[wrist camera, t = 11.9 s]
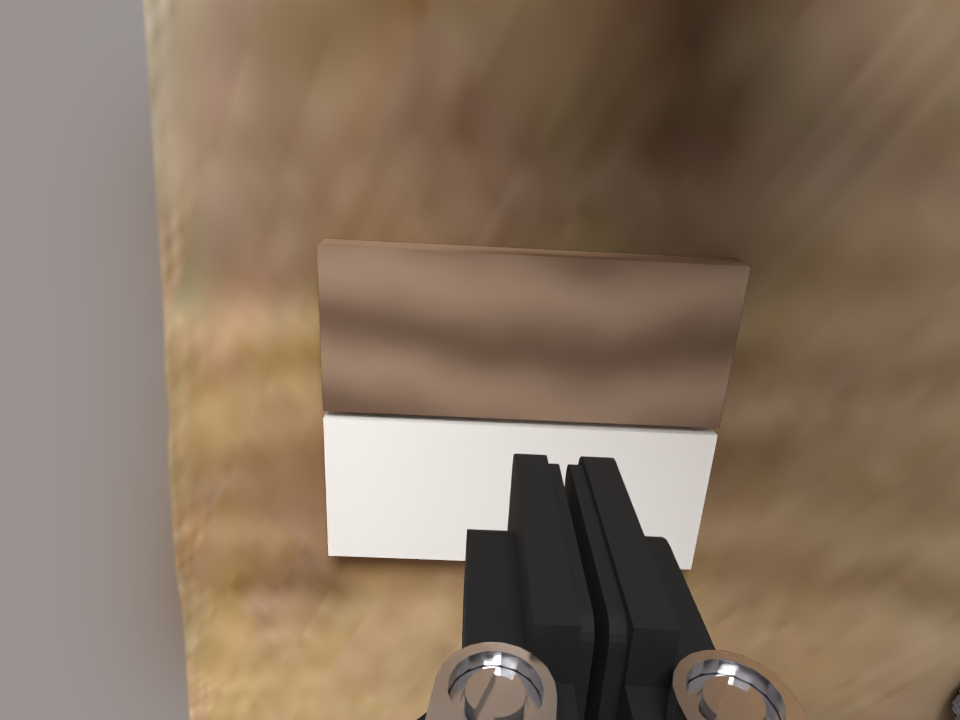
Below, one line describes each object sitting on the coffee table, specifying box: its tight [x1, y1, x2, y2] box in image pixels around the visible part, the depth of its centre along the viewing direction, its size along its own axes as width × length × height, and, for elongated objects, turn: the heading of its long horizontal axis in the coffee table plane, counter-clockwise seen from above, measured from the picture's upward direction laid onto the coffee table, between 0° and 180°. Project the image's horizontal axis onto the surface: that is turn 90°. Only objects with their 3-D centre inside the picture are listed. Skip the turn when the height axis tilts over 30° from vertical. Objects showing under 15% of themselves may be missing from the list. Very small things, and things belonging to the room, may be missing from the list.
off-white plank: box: [323, 411, 718, 570], centre depth 44 cm, size 10×24×2 cm, turn 87°
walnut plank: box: [317, 239, 751, 428], centre depth 40 cm, size 10×24×2 cm, turn 87°
